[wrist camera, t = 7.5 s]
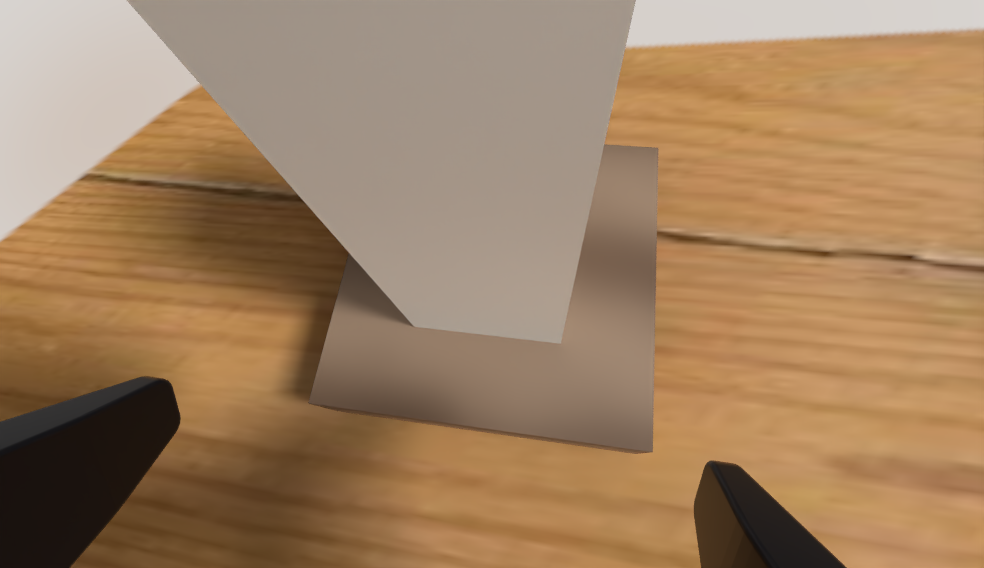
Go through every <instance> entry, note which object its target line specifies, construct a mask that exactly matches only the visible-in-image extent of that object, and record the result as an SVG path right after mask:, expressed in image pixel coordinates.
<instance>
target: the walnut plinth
mask: <svg viewBox="0 0 984 568" xmlns="http://www.w3.org/2000/svg"><path fill="white" fill-rule="evenodd" d="M657 191H658V148H652V147H635V146H619V145H604V147H603V152H602V157H601V161H600V166H599V170H598V175H597V179H596V184H595V189H594V193H593V198H592V202H591V207H590V211H589V216H588V221H587V225H586V230H585V234H584V239H583V244H582V248H581V253H580V257H579V262H578V266H577V271H576V276H575V280H574V285H573V289H572V294H571V298H570V303H569V308H568V312H567V317H566V321H565V326H564V331H563V335H562V340H561V344H559V343H551V342H542V341H534V340H525V339H516V338H508V337H499V336H490V335H482V334H473V333H464V332H456V331H447V330H438V329H430V328H421V327H414V326H413V325H412V324H411V323H410V321H409V320H408V319H407V318H406V317H405V316H404V315H403V313H402V312H401V311H400V310H399V309H398V308H397V307H396V306H395V304H394V303H393V302H392V301H391V300H390V299H389V298H388V296H387V295H386V294H385V293H384V292H383V291H382V290H381V288H380V287H379V286H378V285H377V284H376V283H375V282H374V281H373V279H372V278H371V277H370V276H369V275H368V274H367V273H366V271H365V270H364V269H363V268H362V267H361V266H360V265H359V263H358V262H357V261H356V260H355V259H354V258H353V257H352V256H351V254H350V253H349V255H348V259H347V262H346V266H345V270H344V273H343V277H342V281H341V284H340V288H339V292H338V295H337V299H336V303H335V306H334V310H333V314H332V318H331V321H330V325H329V329H328V332H327V336H326V340H325V343H324V347H323V351H322V354H321V358H320V362H319V365H318V369H317V373H316V377H315V380H314V384H313V388H312V391H311V395H310V399H309V402H308V403H309V404H313V405H317V406H321V407H325V408H328V409H332V410H336V411H341V412H348V413H355V414H362V415H369V416H376V417H383V418H390V419H397V420H404V421H411V422H418V423H425V424H432V425H438V426H445V427H452V428H459V429H466V430H473V431H480V432H487V433H494V434H501V435H508V436H515V437H522V438H529V439H536V440H543V441H550V442H557V443H564V444H571V445H578V446H585V447H592V448H599V449H606V450H613V451H620V452H627V453H634V454H638V453H649V452H653V402H654V349H655V296H656V243H657Z"/></svg>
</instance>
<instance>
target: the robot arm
mask: <svg viewBox="0 0 984 568" xmlns="http://www.w3.org/2000/svg"><path fill="white" fill-rule="evenodd" d="M180 419H181V417H180V412H179V409H178V405H177V401H176V398H175V394H174V391H173V387H172V385H171V383H170V382H169V381H168V380H166V379H162V378H155V377H148V376H144V377H139V378H136V379H133V380H129V381H126V382H123V383H120V384H117V385H114V386H111V387H108V388H104V389H101V390H98V391H95V392H92V393H89V394H86V395H83V396H79V397H76V398H73V399H70V400H67V401H64V402H61V403H58V404H55V405H51V406H48V407H45V408H42V409H39V410H36V411H33V412H30V413H26V414H23V415H20V416H17V417H14V418H11V419H8V420H5V421H1V422H0V568H70V567H71V566H72V565H73V564H74V562H75V561H76V560H77V559H78V558H79V557H80V555H81V554H82V553H83V552H84V551H85V550H86V548H87V547H88V546H89V545H90V544H91V543H92V541H93V540H94V539H95V538H96V537H97V536H98V534H99V533H100V532H101V531H102V530H103V529H104V527H105V526H106V525H107V524H108V523H109V521H110V520H111V519H112V518H113V517H114V515H115V514H116V513H117V512H118V511H119V509H120V508H121V507H122V505H123V504H124V503H125V501H126V500H127V499H128V497H129V496H130V495H131V493H132V492H133V491H134V489H135V488H136V486H137V485H138V484H139V482H140V481H141V480H142V478H143V477H144V475H145V474H146V473H147V471H148V470H149V469H150V467H151V466H152V464H153V463H154V462H155V460H156V459H157V458H158V456H159V455H160V453H161V452H162V451H163V449H164V448H165V447H166V445H167V444H168V442H169V441H170V440H171V438H172V437H173V436H174V434H175V433H176V431H177V430H178V427H179V425H180ZM694 519H695V526H696V533H697V541H698V548H699V555H700V562H701V568H847V567H845V566H844V565H843V564H842V563H841V562H840V561H839V560H838V559H837V558H836V557H835V556H834V555H833V554H832V553H831V552H830V551H829V550H828V549H827V548H825V547H824V546H823V545H822V544H821V543H820V542H819V541H818V540H817V539H816V538H815V537H814V536H813V535H812V534H811V533H810V532H809V531H808V530H807V529H805V528H804V527H803V526H802V525H801V524H800V523H799V522H798V521H797V520H796V519H795V518H794V517H793V516H792V515H791V514H790V513H789V512H788V511H787V510H785V509H784V508H783V507H782V506H781V505H780V504H779V503H778V502H777V501H776V500H775V499H774V498H773V497H772V496H771V495H770V494H769V493H768V492H767V491H765V490H764V489H763V488H762V487H761V486H760V485H759V484H758V483H757V482H756V481H755V480H754V479H753V478H752V477H751V476H750V475H749V474H748V473H747V472H745V471H744V470H743V469H742V468H741V467H740V466H738V465H736V464H733V463H726V462H720V461H709V462H707V464H706V465H705V467H704V470H703V474H702V477H701V480H700V484H699V487H698V491H697V494H696V497H695V502H694Z"/></svg>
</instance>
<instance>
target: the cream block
mask: <svg viewBox="0 0 984 568" xmlns="http://www.w3.org/2000/svg"><path fill="white" fill-rule="evenodd" d="M127 1H128V2H129V3H130V4H131V6H132V7H133V8H134V9H135V10H136V11H137V12H138V14H139V15H140V16H141V17H142V18H143V19H144V20H145V21H146V23H147V24H148V25H149V26H150V27H151V28H152V29H153V31H154V32H155V33H156V34H157V35H158V36H159V37H160V39H161V40H162V41H163V42H164V43H165V44H166V45H167V46H168V48H169V49H170V50H171V51H172V52H173V53H174V54H175V56H176V57H177V58H178V59H179V60H180V61H181V62H182V64H183V65H184V66H185V67H186V68H187V69H188V70H189V71H190V72H191V74H192V75H193V76H194V77H195V78H196V79H197V81H198V82H199V83H200V84H201V85H202V86H203V87H204V89H205V90H206V91H207V92H208V93H209V94H210V95H211V96H212V98H213V99H214V100H215V101H216V102H217V103H218V104H219V106H220V107H221V108H222V109H223V110H224V111H225V112H226V114H227V115H228V116H229V117H230V118H231V119H232V120H233V121H234V123H235V124H236V125H237V126H238V127H239V128H240V129H241V131H242V132H243V133H244V134H245V135H246V136H247V137H248V139H249V140H250V141H251V142H252V143H253V144H254V145H255V146H256V148H257V149H258V150H259V151H260V152H261V153H262V154H263V156H264V157H265V158H266V159H267V160H268V161H269V162H270V164H271V165H272V166H273V167H274V168H275V169H276V170H277V171H278V173H279V174H280V175H281V176H282V177H283V178H284V179H285V181H286V182H287V183H288V184H289V185H290V186H291V187H292V188H293V190H294V191H295V192H296V193H297V194H298V195H299V196H300V198H301V199H302V200H303V201H304V202H305V203H306V204H307V206H308V207H309V208H310V209H311V210H312V211H313V212H314V213H315V215H316V216H317V217H318V218H319V219H320V220H321V221H322V223H323V224H324V225H325V226H326V227H327V228H328V229H329V231H330V232H331V233H332V234H333V235H334V236H335V237H336V238H337V240H338V241H339V242H340V243H341V244H342V245H343V246H344V248H345V249H346V250H347V251H348V252H349V253H350V254H351V256H352V257H353V258H354V259H355V260H356V261H357V262H358V263H359V265H360V266H361V267H362V268H363V269H364V270H365V271H366V273H367V274H368V275H369V276H370V277H371V278H372V279H373V281H374V282H375V283H376V284H377V285H378V286H379V287H380V288H381V290H382V291H383V292H384V293H385V294H386V295H387V296H388V298H389V299H390V300H391V301H392V302H393V303H394V304H395V306H396V307H397V308H398V309H399V310H400V311H401V312H402V313H403V315H404V316H405V317H406V318H407V319H408V320H409V321H410V323H411V324H412V325H413V326H414V327H421V328H430V329H438V330H447V331H456V332H464V333H473V334H482V335H490V336H499V337H508V338H516V339H525V340H534V341H542V342H551V343H559V344H561V340H562V335H563V331H564V326H565V321H566V317H567V312H568V308H569V303H570V298H571V294H572V289H573V285H574V280H575V276H576V271H577V266H578V262H579V257H580V253H581V248H582V244H583V239H584V234H585V230H586V225H587V221H588V216H589V211H590V207H591V202H592V198H593V193H594V189H595V184H596V179H597V175H598V170H599V166H600V161H601V157H602V152H603V147H604V143H605V138H606V134H607V129H608V124H609V120H610V115H611V111H612V106H613V102H614V97H615V92H616V88H617V83H618V79H619V74H620V70H621V65H622V60H623V56H624V51H625V47H626V42H627V37H628V33H629V28H630V23H631V19H632V15H633V10H634V5H635V1H636V0H127Z"/></svg>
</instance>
